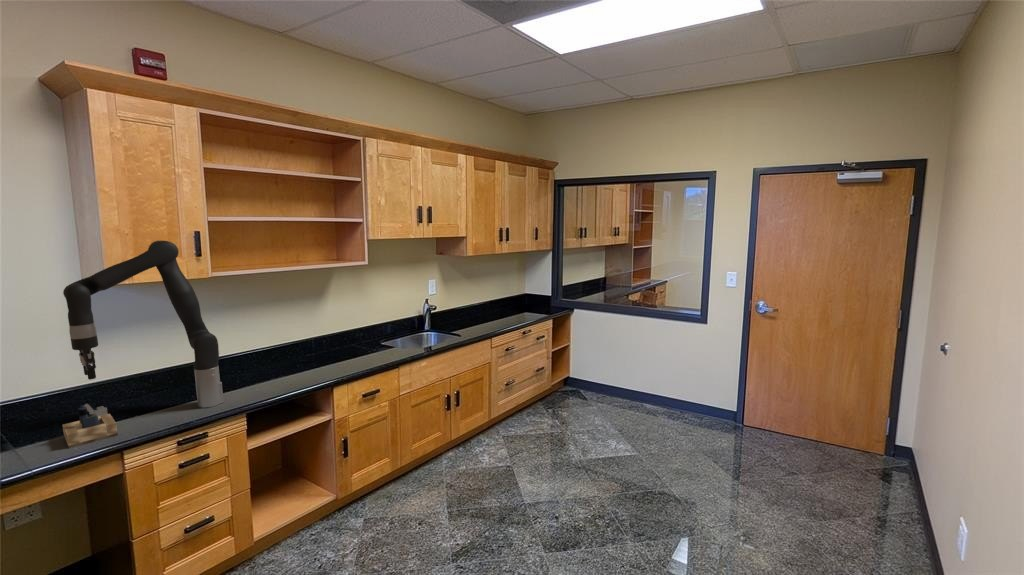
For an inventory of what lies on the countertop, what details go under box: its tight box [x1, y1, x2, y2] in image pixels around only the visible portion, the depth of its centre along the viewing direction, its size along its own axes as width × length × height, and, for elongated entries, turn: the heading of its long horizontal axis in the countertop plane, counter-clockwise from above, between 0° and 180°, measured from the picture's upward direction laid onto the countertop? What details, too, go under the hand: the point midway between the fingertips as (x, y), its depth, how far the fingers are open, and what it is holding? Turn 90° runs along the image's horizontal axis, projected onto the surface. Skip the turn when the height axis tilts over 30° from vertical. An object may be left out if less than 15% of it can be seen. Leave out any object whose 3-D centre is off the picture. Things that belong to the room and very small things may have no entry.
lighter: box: [83, 403, 109, 416], centre depth 198 cm, size 7×2×8 cm, turn 152°
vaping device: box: [78, 404, 99, 429], centre depth 182 cm, size 3×5×12 cm, turn 136°
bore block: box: [61, 413, 119, 449], centre depth 183 cm, size 14×14×5 cm
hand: (90, 376), depth 183 cm, fingers open, 8 cm apart
